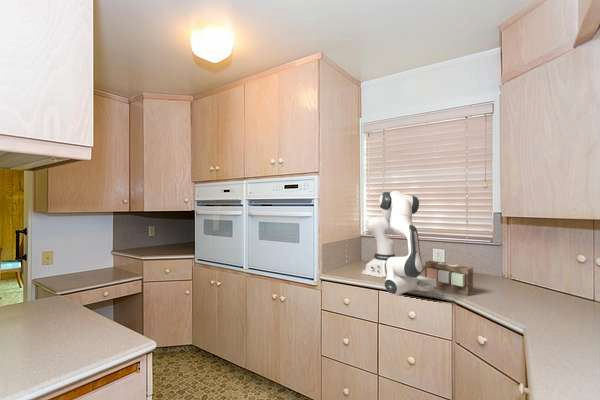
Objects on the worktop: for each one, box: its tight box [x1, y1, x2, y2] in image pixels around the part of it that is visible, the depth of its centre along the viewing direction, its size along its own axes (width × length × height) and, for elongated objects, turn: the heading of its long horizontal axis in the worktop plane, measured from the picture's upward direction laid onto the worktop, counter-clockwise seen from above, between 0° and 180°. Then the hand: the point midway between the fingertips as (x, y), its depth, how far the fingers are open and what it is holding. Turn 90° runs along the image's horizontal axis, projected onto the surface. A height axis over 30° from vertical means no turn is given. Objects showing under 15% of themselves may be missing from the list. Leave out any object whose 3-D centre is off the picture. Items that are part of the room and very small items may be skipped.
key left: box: [427, 267, 441, 280], centre depth 179 cm, size 6×4×6 cm
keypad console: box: [424, 260, 474, 297], centre depth 174 cm, size 24×6×15 cm, turn 37°
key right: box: [451, 272, 466, 287], centre depth 166 cm, size 6×4×6 cm
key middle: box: [438, 269, 452, 283], centre depth 172 cm, size 6×4×6 cm
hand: (424, 277), depth 168 cm, fingers closed
